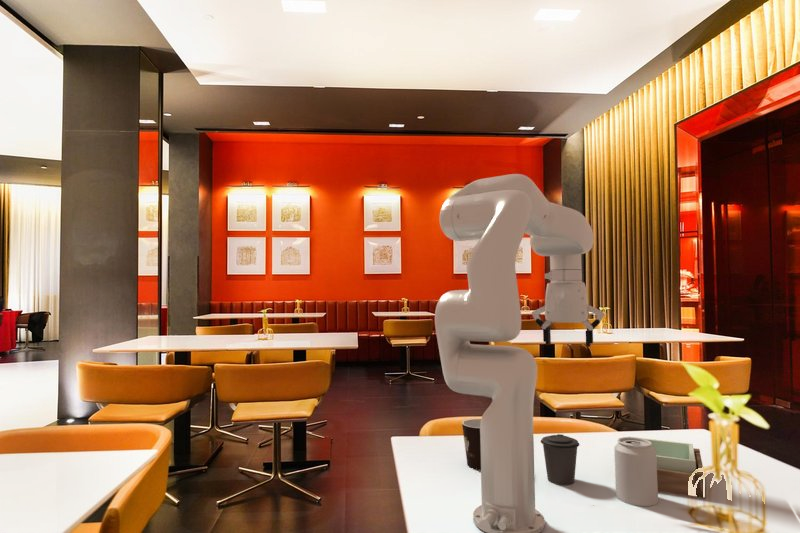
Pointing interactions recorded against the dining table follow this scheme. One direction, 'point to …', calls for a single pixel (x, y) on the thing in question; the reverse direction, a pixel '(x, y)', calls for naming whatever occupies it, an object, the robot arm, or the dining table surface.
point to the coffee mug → (472, 442)
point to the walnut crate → (680, 479)
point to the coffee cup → (560, 458)
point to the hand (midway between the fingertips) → (567, 345)
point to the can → (636, 471)
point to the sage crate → (674, 455)
